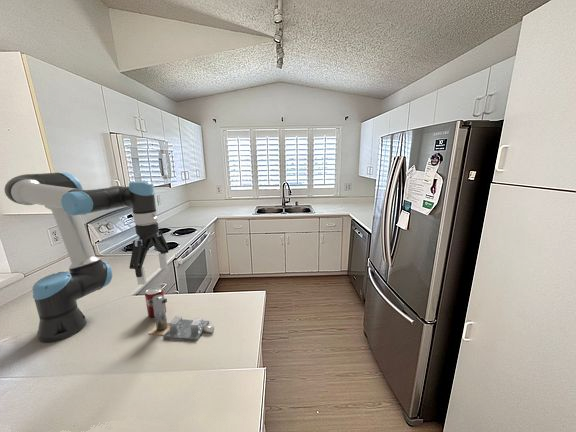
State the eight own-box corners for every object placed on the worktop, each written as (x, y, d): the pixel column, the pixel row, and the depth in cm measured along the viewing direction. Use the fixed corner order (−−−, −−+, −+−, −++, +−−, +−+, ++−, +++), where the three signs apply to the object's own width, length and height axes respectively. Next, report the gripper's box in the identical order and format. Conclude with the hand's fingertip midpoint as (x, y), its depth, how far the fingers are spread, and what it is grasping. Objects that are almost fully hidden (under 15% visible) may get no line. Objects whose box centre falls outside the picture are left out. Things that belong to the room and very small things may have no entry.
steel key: (151, 331, 102) (146, 300, 99) (156, 325, 106) (151, 295, 102) (168, 330, 102) (163, 299, 99) (171, 324, 106) (167, 294, 103)
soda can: (161, 308, 119) (158, 284, 116) (169, 313, 114) (166, 289, 112) (145, 315, 113) (141, 291, 111) (152, 321, 109) (148, 296, 106)
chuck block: (163, 338, 98) (161, 328, 97) (178, 321, 109) (177, 311, 108) (207, 341, 96) (206, 331, 95) (218, 323, 107) (217, 313, 106)
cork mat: (148, 334, 101) (148, 333, 101) (159, 323, 108) (159, 322, 108) (165, 335, 100) (164, 334, 100) (174, 324, 107) (174, 323, 107)
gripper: (132, 232, 82) (141, 292, 86) (174, 215, 106) (179, 263, 110) (110, 232, 82) (121, 291, 87) (157, 215, 107) (163, 262, 111)
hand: (153, 275), depth 99 cm, fingers open, 13 cm apart
